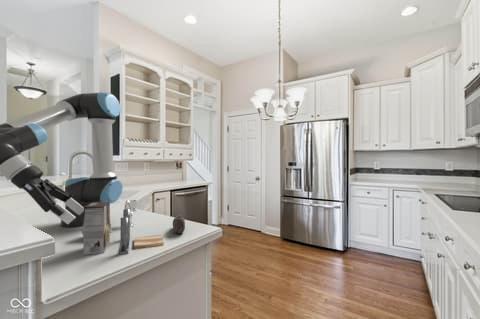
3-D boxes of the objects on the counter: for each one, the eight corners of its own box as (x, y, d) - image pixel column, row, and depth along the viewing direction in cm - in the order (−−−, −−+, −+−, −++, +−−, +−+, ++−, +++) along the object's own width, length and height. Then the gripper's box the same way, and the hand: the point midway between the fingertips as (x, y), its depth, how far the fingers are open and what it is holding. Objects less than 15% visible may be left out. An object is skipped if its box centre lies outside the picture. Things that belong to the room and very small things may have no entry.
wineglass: (123, 225, 113) (123, 200, 113) (136, 223, 116) (136, 199, 116) (125, 227, 108) (125, 202, 108) (138, 225, 112) (138, 201, 112)
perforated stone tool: (173, 226, 110) (173, 212, 111) (184, 226, 112) (184, 211, 112) (172, 236, 96) (172, 219, 96) (185, 235, 97) (185, 219, 97)
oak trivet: (134, 240, 91) (134, 237, 91) (161, 236, 95) (161, 234, 95) (134, 248, 82) (134, 246, 82) (163, 244, 86) (163, 242, 86)
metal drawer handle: (123, 239, 93) (123, 209, 93) (129, 238, 94) (130, 208, 94) (120, 255, 77) (120, 219, 77) (128, 253, 78) (128, 218, 78)
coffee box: (90, 245, 85) (91, 202, 85) (110, 243, 87) (110, 201, 87) (82, 255, 76) (82, 206, 77) (104, 253, 78) (104, 205, 79)
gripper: (29, 178, 83) (77, 216, 89) (-15, 184, 60) (54, 235, 66) (47, 164, 86) (94, 202, 91) (12, 164, 63) (77, 215, 68)
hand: (77, 216), depth 79 cm, fingers open, 13 cm apart
